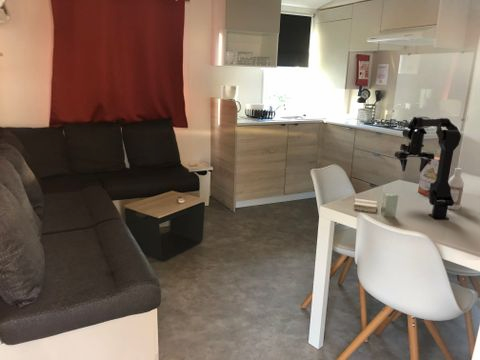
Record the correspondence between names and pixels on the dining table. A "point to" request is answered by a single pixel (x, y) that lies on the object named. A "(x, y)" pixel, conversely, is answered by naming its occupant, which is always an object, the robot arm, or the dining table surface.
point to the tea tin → (389, 204)
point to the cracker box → (429, 176)
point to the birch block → (365, 205)
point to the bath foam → (456, 188)
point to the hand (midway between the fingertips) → (411, 171)
